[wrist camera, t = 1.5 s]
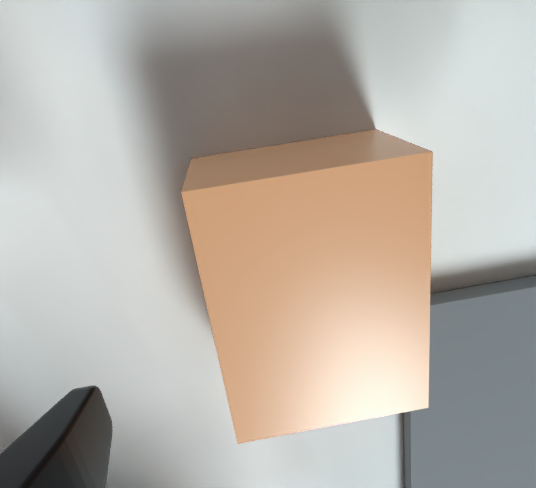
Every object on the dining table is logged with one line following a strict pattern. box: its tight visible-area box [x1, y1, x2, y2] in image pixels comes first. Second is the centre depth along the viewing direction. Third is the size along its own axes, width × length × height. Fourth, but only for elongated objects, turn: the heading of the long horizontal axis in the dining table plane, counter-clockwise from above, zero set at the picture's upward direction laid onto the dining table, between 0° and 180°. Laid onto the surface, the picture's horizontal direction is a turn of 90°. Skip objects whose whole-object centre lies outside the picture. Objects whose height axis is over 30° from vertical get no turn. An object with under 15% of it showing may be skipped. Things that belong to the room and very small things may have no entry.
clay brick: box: [181, 129, 433, 444], centre depth 11 cm, size 5×6×3 cm
